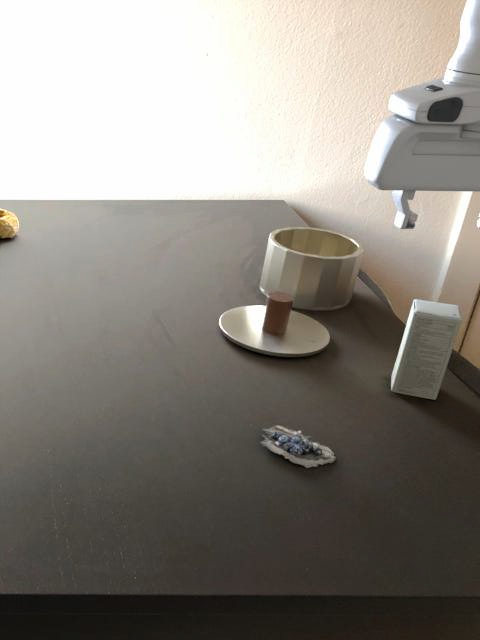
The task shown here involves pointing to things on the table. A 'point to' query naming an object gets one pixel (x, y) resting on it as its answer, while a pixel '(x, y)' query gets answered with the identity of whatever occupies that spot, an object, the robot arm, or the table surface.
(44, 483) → the table surface
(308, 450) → the blueberries
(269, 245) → the pot
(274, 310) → the lid
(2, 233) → the bagel
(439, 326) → the box
